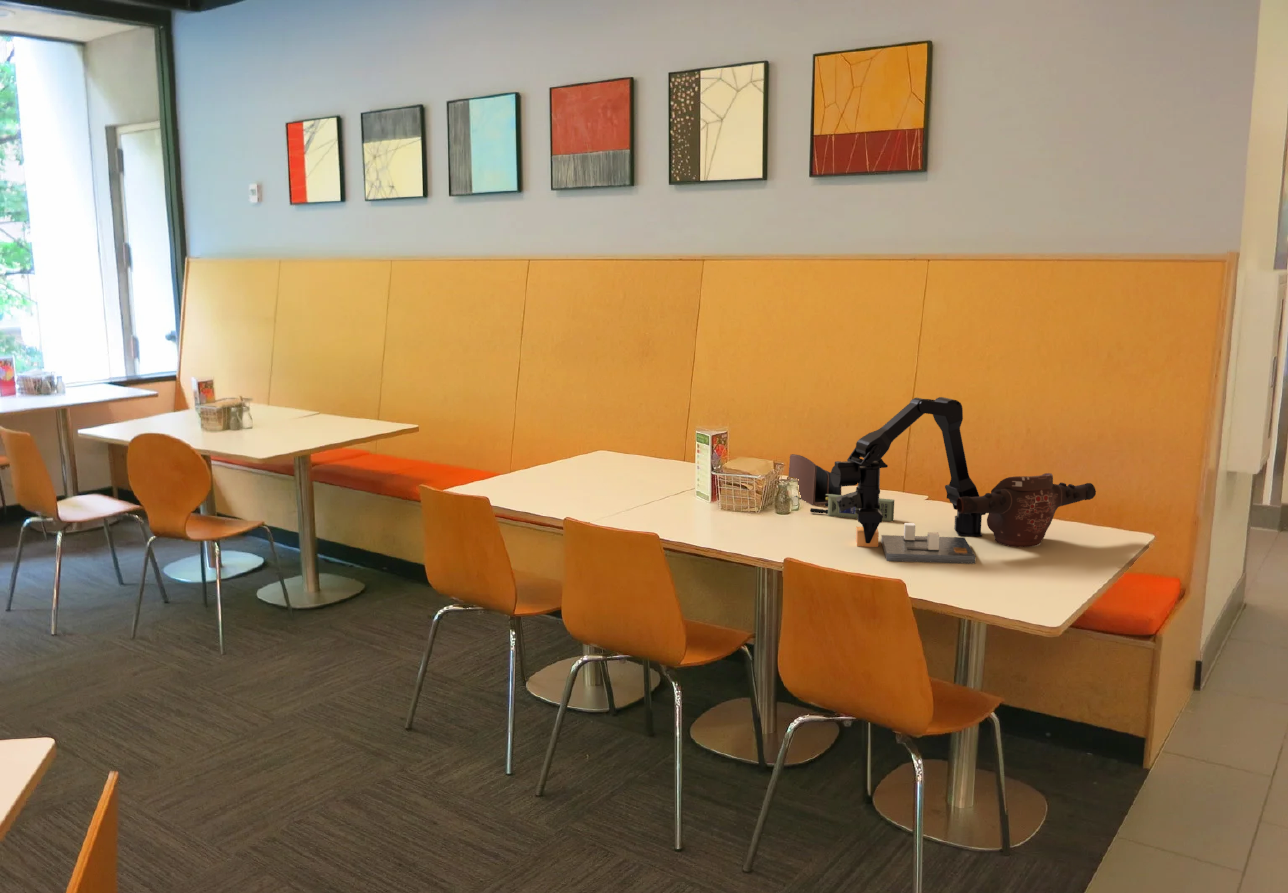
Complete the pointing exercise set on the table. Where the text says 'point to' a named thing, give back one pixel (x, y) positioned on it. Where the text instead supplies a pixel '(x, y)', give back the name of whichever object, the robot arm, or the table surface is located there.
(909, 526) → the switch
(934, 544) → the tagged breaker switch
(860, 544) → the cap
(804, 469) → the letter holder
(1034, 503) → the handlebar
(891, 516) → the handheld radio
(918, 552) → the breaker panel
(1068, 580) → the table surface
